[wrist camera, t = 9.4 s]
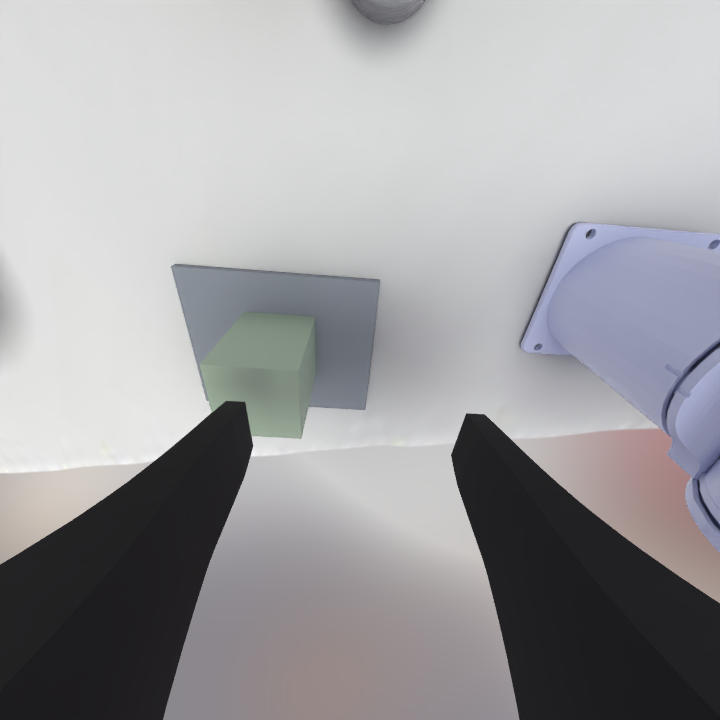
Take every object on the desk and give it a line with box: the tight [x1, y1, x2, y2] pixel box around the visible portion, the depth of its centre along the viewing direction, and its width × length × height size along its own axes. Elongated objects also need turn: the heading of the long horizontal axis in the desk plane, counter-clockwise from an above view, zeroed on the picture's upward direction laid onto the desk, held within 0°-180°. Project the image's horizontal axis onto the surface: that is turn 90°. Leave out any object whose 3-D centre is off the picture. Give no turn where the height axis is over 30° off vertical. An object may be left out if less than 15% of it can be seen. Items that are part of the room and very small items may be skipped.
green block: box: [199, 312, 316, 439], centre depth 17 cm, size 4×4×6 cm
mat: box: [171, 264, 380, 410], centre depth 20 cm, size 12×10×1 cm
